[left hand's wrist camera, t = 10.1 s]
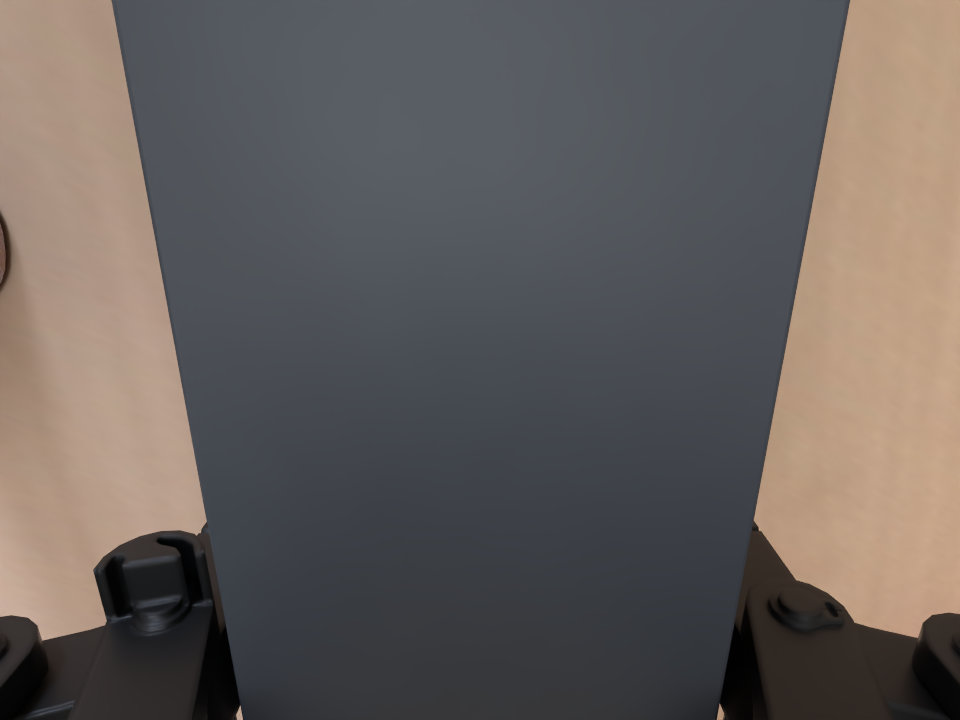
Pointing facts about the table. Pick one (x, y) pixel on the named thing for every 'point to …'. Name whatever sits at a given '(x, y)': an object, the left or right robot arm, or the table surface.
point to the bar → (480, 333)
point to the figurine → (2, 254)
